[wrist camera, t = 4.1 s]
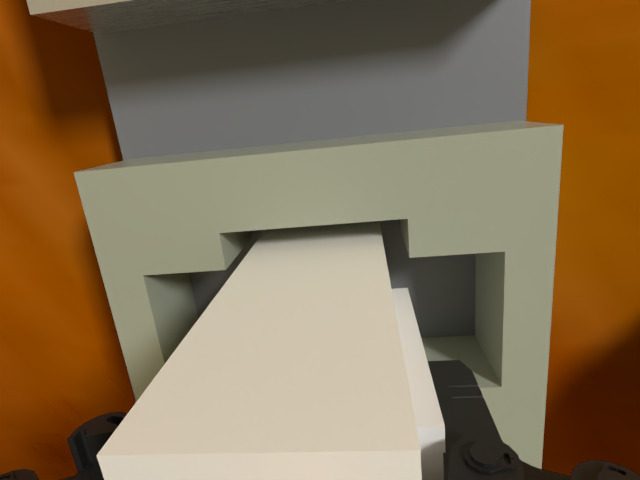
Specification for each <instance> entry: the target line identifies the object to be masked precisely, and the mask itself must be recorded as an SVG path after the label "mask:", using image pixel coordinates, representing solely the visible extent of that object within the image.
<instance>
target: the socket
mask: <svg viewBox="0 0 640 480" xmlns="http://www.w3.org/2000/svg"><path fill="white" fill-rule="evenodd" d="M26 1H27V5H28V8H29V12H30V15H33V16H36V17H40V18H43V19H47V20H51V21H54V22H58V23H62V24H65V25H69V26H73V27H76V28H80V29H83V30H87V31H91V32H94V33H98V34H103V33H111V32H118V31H125V30H133V29H140V28H148V27H155V26H162V25H170V24H177V23H185V22H192V21H199V20H207V19H214V18H222V17H229V16H236V15H244V14H251V13H258V12H266V11H273V10H281V9H288V8H295V7H303V6H310V5H318V4H325V3H332V2H340V1H347V0H26Z"/></svg>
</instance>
